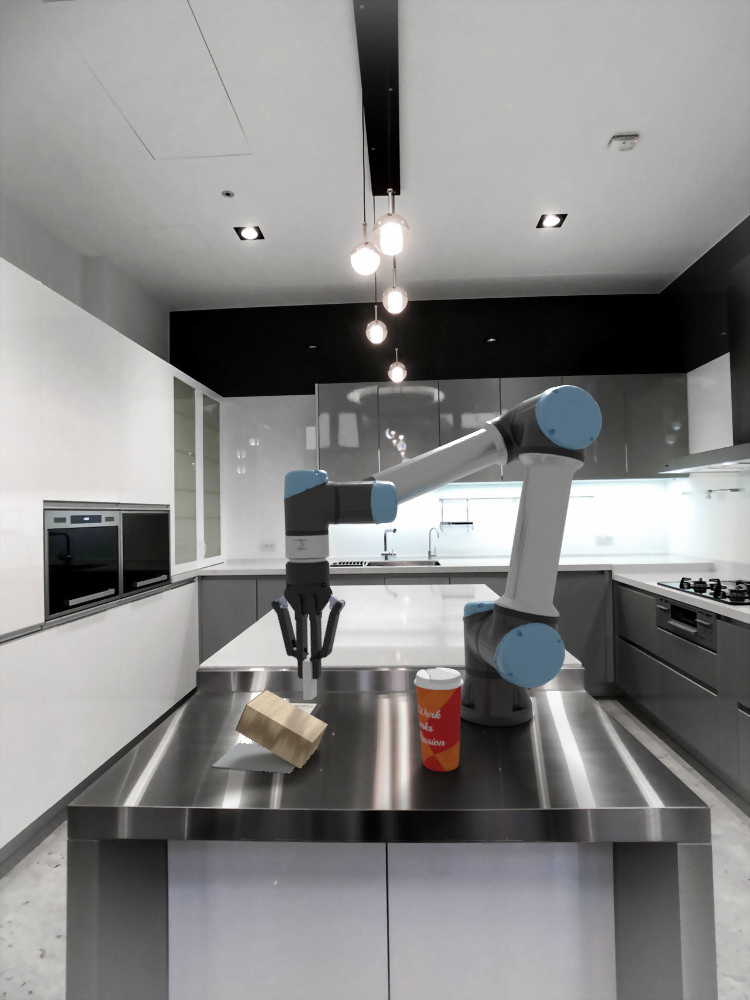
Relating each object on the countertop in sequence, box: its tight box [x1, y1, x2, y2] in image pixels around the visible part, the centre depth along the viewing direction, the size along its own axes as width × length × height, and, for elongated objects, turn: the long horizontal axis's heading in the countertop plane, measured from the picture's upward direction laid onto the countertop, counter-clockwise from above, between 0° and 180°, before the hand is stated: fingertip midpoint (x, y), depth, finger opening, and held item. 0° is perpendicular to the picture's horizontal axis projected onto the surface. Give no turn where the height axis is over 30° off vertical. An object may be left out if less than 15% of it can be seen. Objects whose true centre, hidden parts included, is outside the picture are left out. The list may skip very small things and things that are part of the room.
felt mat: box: [211, 740, 297, 775], centre depth 101 cm, size 14×12×1 cm
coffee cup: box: [413, 667, 464, 773], centre depth 96 cm, size 8×8×15 cm
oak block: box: [234, 689, 329, 769], centre depth 100 cm, size 5×8×13 cm
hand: (310, 697), depth 99 cm, fingers closed
